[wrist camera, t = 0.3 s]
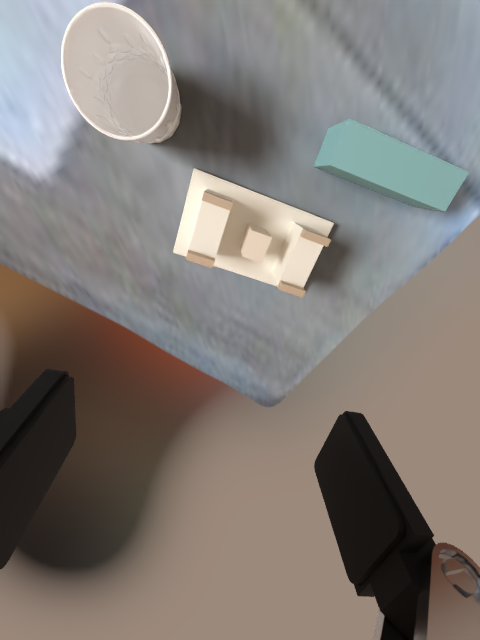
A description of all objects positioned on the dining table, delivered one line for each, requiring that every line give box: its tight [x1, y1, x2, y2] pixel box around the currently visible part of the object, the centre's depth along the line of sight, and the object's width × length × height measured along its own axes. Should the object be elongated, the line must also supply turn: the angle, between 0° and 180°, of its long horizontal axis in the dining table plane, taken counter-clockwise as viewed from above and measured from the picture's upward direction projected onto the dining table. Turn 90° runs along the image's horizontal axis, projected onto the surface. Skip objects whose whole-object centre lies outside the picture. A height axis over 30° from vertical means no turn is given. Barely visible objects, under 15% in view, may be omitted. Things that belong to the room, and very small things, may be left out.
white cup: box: [61, 2, 182, 143], centre depth 25 cm, size 8×8×10 cm
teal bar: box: [314, 119, 469, 212], centre depth 31 cm, size 4×14×6 cm, turn 72°
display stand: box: [173, 168, 334, 297], centre depth 33 cm, size 10×18×7 cm, turn 70°
